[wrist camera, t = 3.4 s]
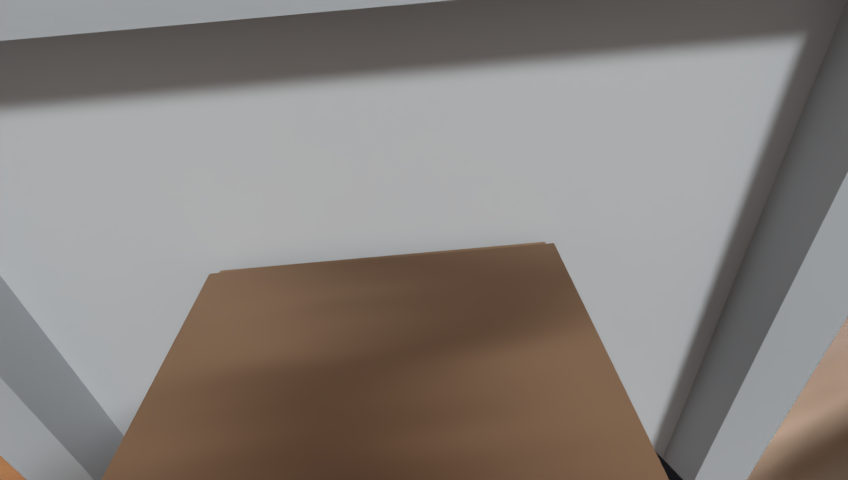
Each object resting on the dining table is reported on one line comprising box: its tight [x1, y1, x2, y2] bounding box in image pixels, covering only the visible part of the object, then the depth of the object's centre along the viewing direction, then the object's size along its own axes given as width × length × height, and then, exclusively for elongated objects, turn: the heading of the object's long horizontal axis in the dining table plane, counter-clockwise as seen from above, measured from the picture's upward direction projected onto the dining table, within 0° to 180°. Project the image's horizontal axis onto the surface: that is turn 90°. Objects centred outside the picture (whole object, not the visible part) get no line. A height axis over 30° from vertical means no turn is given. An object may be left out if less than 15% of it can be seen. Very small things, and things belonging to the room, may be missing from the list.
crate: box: [101, 242, 669, 480], centre depth 8 cm, size 6×6×5 cm
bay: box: [0, 0, 848, 480], centre depth 10 cm, size 17×18×3 cm
